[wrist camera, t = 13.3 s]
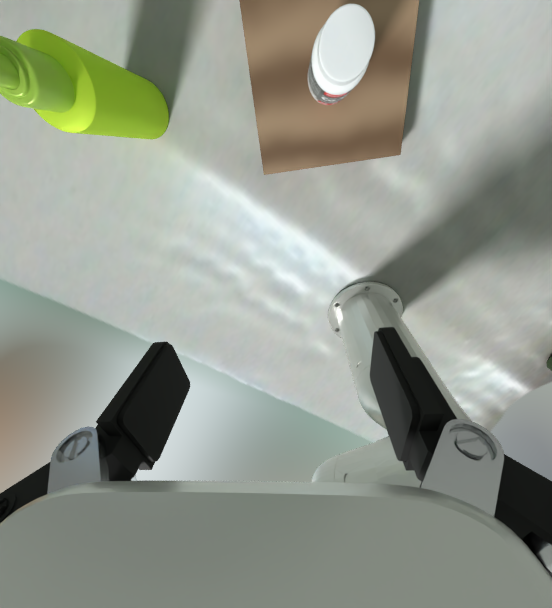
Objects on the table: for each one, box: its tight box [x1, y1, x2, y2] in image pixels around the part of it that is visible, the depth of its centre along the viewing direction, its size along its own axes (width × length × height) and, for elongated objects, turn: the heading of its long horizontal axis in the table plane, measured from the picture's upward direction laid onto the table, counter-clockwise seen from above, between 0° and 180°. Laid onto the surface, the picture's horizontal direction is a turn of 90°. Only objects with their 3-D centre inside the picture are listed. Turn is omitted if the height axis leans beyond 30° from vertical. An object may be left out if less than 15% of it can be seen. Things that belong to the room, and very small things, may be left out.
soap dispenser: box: [0, 29, 169, 139], centre depth 21 cm, size 6×7×20 cm
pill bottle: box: [308, 4, 375, 105], centre depth 21 cm, size 5×5×8 cm
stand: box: [240, 0, 419, 175], centre depth 26 cm, size 16×16×3 cm
